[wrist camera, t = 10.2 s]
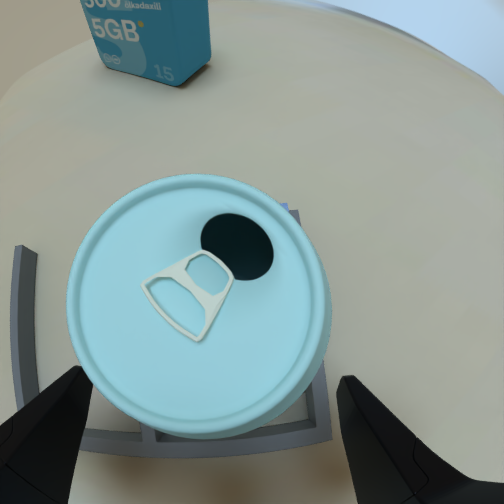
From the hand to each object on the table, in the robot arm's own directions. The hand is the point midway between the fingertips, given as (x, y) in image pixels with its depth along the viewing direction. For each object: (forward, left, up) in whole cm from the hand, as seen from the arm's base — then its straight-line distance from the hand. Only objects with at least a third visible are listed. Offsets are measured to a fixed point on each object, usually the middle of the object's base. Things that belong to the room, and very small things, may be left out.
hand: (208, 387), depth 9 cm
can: (+2, 0, -8) cm, 8 cm away
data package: (+28, +5, -8) cm, 30 cm away
